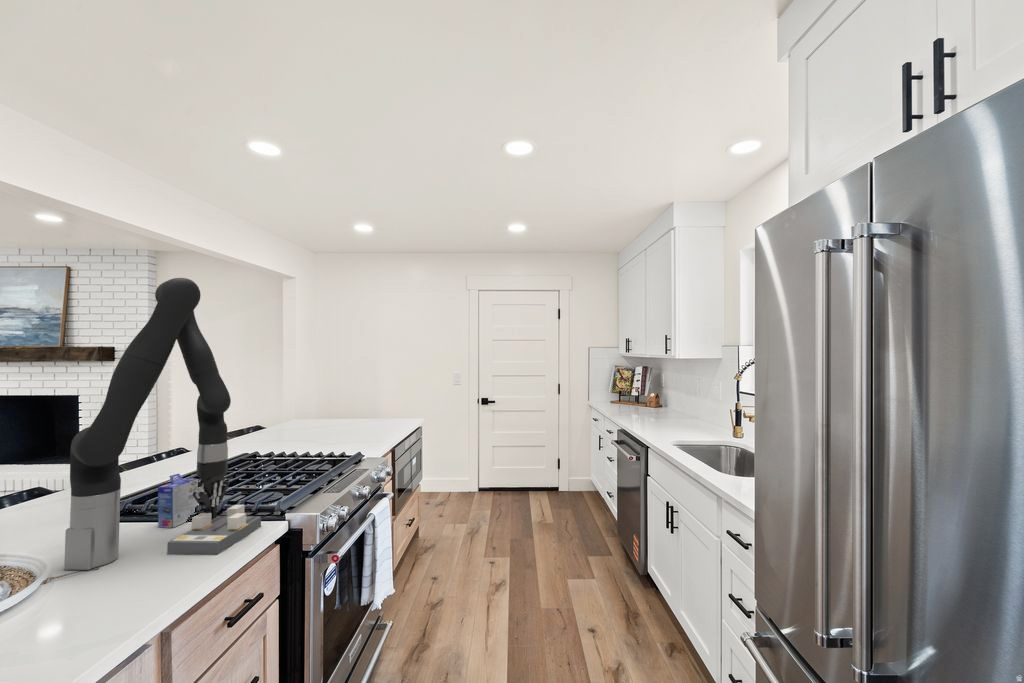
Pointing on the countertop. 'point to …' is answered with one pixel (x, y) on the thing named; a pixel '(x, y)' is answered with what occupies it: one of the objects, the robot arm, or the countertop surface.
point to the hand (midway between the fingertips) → (211, 518)
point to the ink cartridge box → (176, 501)
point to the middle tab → (235, 510)
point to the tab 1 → (201, 520)
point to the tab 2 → (236, 521)
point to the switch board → (212, 537)
